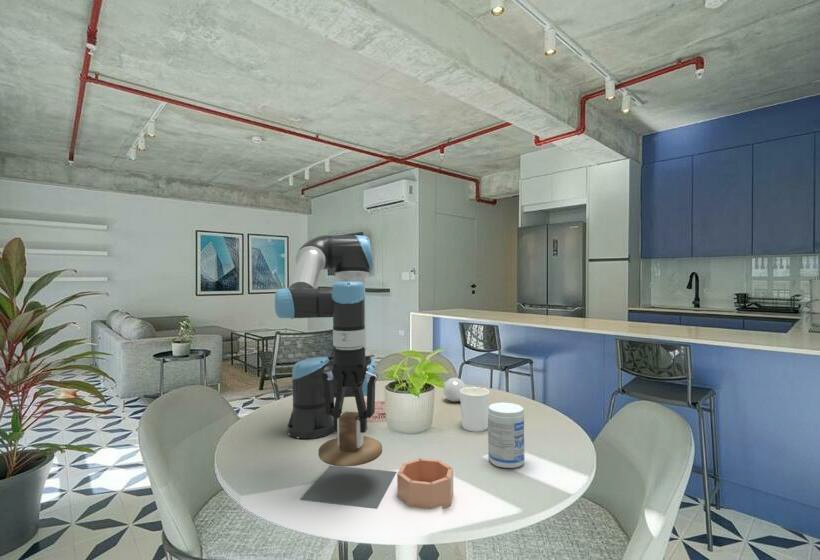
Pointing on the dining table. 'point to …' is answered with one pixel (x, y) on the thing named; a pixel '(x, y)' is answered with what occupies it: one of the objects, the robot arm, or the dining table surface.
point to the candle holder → (474, 408)
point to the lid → (349, 445)
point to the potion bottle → (454, 389)
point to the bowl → (425, 483)
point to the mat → (350, 487)
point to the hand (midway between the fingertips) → (350, 444)
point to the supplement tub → (506, 435)
